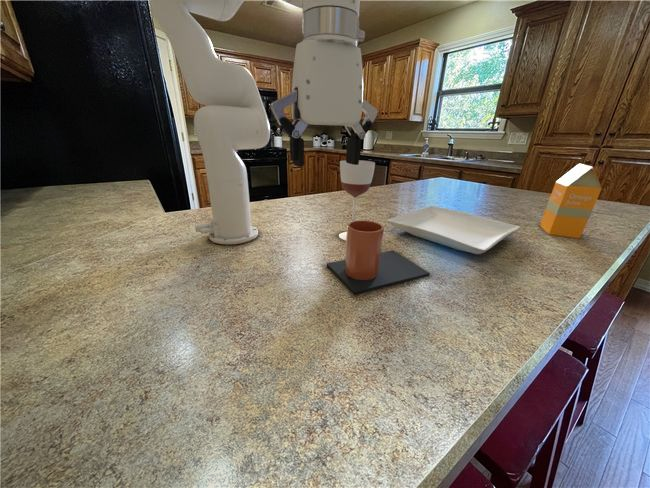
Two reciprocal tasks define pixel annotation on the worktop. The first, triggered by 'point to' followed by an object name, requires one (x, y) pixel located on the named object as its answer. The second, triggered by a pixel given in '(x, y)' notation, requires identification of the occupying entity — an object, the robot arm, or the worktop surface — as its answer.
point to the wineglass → (356, 181)
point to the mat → (381, 273)
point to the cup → (363, 249)
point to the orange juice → (571, 202)
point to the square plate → (454, 228)
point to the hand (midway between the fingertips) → (326, 164)
